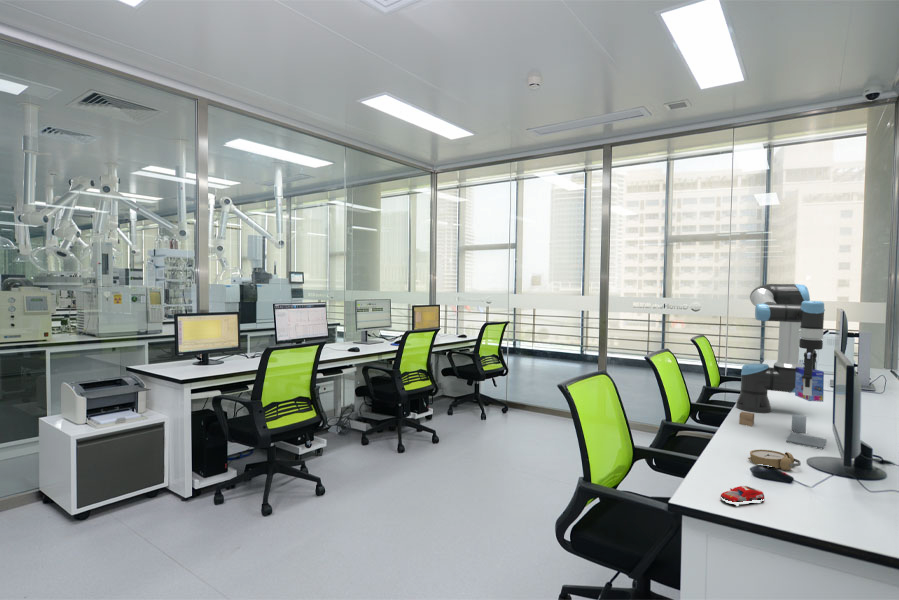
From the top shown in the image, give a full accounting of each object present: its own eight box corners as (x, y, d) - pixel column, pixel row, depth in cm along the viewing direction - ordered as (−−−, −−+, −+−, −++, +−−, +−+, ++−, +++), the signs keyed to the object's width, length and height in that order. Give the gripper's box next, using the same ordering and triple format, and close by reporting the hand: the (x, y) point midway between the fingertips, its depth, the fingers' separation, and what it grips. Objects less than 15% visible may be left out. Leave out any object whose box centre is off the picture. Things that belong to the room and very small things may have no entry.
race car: (731, 508, 135) (731, 494, 135) (716, 500, 141) (716, 486, 140) (768, 503, 139) (768, 490, 138) (752, 495, 144) (752, 482, 144)
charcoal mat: (790, 434, 204) (790, 432, 204) (826, 441, 196) (826, 439, 196) (786, 442, 194) (786, 440, 194) (823, 449, 186) (823, 447, 186)
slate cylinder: (792, 429, 211) (792, 413, 211) (806, 431, 208) (806, 416, 208) (790, 431, 208) (791, 416, 208) (804, 434, 204) (805, 418, 204)
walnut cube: (741, 422, 222) (741, 411, 222) (754, 424, 219) (754, 413, 218) (739, 424, 218) (739, 413, 218) (751, 426, 215) (752, 415, 215)
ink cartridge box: (793, 395, 199) (795, 361, 199) (807, 396, 199) (809, 361, 198) (808, 401, 190) (810, 365, 189) (823, 402, 189) (825, 365, 188)
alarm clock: (752, 447, 178) (801, 450, 168) (754, 461, 178) (803, 464, 168) (745, 455, 170) (797, 459, 160) (748, 469, 170) (799, 474, 159)
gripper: (802, 336, 204) (800, 387, 205) (796, 340, 187) (793, 395, 188) (825, 337, 199) (822, 390, 200) (820, 342, 182) (817, 399, 183)
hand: (808, 392), depth 194 cm, fingers closed on ink cartridge box, 10 cm apart
